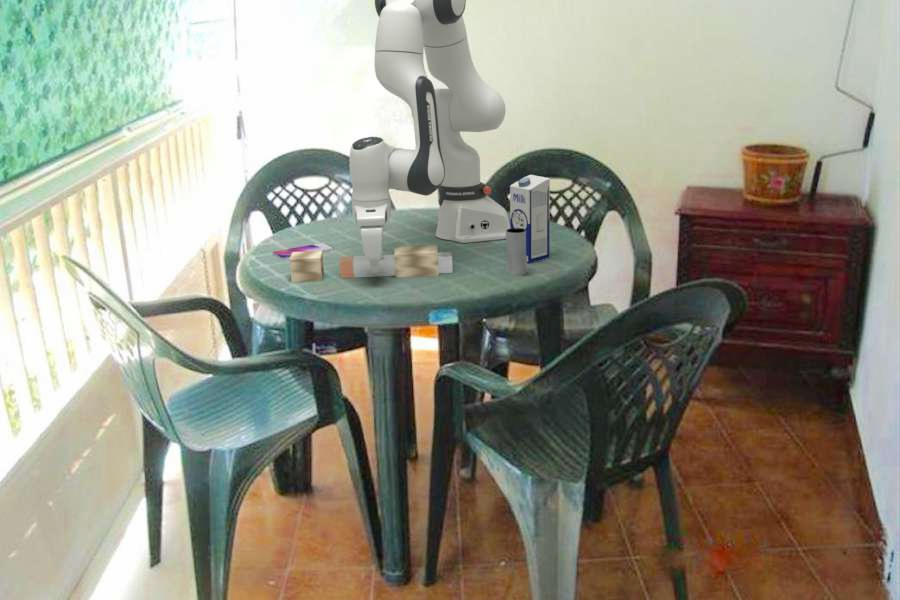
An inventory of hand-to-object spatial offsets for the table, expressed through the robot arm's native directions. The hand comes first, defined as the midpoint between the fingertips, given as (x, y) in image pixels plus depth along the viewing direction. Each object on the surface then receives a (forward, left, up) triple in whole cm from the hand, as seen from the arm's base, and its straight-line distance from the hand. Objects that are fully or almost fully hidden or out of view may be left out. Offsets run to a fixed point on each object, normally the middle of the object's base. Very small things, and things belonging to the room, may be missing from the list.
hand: (375, 267), depth 197 cm
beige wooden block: (+16, 0, -2) cm, 16 cm away
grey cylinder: (-33, +4, -2) cm, 33 cm away
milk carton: (-38, -8, -2) cm, 39 cm away
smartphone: (+19, -24, -2) cm, 31 cm away
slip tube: (-5, 0, -2) cm, 5 cm away
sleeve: (-10, 0, -2) cm, 10 cm away
